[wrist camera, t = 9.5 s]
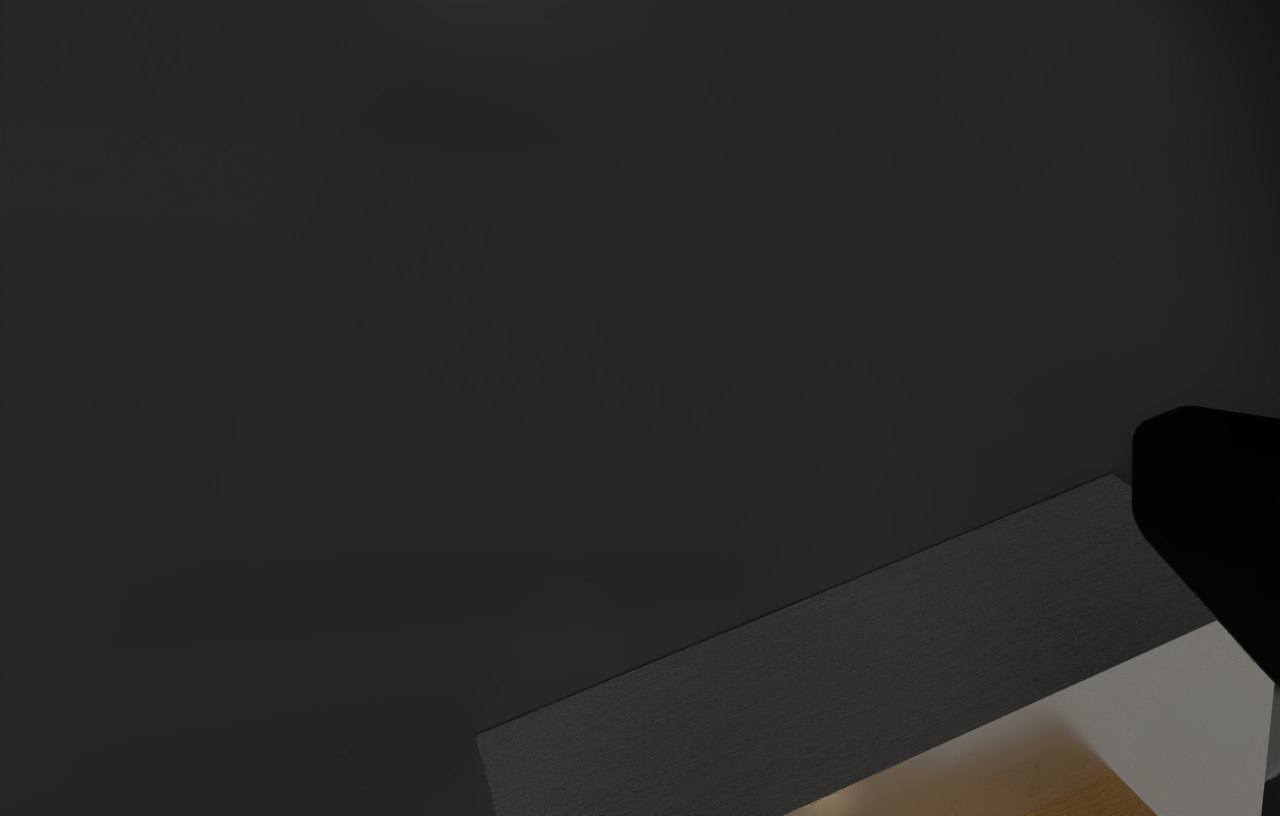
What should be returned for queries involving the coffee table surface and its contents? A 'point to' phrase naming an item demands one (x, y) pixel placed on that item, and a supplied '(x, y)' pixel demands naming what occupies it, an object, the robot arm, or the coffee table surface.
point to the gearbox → (931, 695)
